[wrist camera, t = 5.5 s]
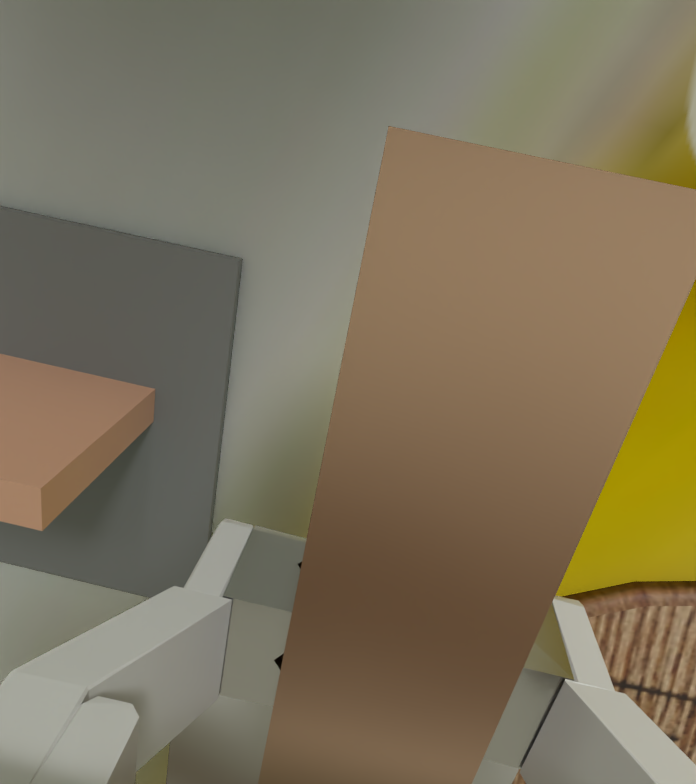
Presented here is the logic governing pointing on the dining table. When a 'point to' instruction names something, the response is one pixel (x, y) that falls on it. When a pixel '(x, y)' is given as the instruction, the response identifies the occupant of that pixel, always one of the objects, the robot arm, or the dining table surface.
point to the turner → (457, 460)
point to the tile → (60, 435)
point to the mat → (132, 365)
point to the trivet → (649, 651)
